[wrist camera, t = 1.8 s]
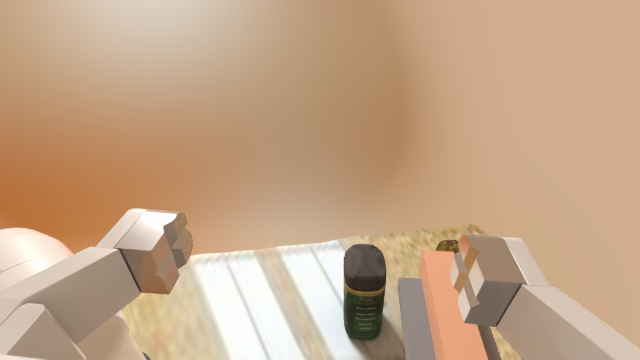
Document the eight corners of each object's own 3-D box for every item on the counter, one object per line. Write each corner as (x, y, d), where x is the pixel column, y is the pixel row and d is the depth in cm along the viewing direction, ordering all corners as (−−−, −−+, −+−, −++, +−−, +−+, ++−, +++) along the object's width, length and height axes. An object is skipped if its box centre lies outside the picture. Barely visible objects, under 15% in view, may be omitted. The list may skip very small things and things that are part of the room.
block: (505, 475, 27) (519, 457, 25) (456, 469, 28) (465, 451, 26) (448, 272, 46) (453, 251, 43) (419, 270, 46) (423, 250, 44)
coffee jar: (383, 342, 64) (390, 279, 54) (344, 341, 65) (343, 279, 55) (378, 300, 72) (383, 239, 62) (343, 300, 73) (342, 239, 63)
